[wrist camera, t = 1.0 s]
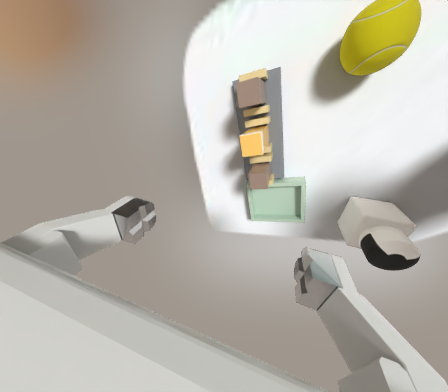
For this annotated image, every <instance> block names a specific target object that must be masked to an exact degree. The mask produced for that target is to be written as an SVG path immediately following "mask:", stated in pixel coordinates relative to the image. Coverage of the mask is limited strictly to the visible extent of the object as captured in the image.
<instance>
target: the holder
mask: <svg viewBox="0 0 448 392" xmlns="http://www.w3.org/2000/svg"><path fill="white" fill-rule="evenodd" d="M233 88H234V95H235V102H236V109H237V116H238V122H239V129H240V135H241V134H243V133H245V132H246V131H247V130H249V129H250V128H251V127H255V126H261V125H266V124H268V132H269V142H268V144H267V147H266V149H265V151H264V154H263V155H257V156H248V157H244V163H245V170H246V177H247V180H249V183H250V190H252V189H268V185H273V182H274V178H284V155H283V125H282V95H281V68H280V67H278V68H275V69H272V70H269V71H267V70H266V69H265V68H263V69H260V70H257V71H254V72H250V73H247V74H244V75H241V76H239V80H236V81H233Z"/></svg>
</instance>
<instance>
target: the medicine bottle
mask: <svg viewBox="0 0 448 392" xmlns="http://www.w3.org/2000/svg"><path fill="white" fill-rule="evenodd" d="M337 223H338V225H339V228H340V230H341V233H342V235H343V237H344V240H345V242H346V244H347V245H349V246H353V247H357V248H361V249H362V250H363V252H364V254H365V256H366V258H367V260H368V262H369V263H371V264H372V265H373V266H375V267H378V268H381V269H384V270H403V269H407V268H409V267H412V266H413V265H415V264H416V263H417V262H418V260H419V258H420V251H419V250H418V248H417V247H416V246H415V245H414V244H413V243H412V242H411V241H410V239H409V238H408V236H409V235H410V234H411V233H412V232H413V231H414V229H415V228H416V225H415V224H414V223H413V222H412V221H411V220H410V219H409V218H408V217H407V216H406V215H405V214H404V213H403V212H402V211H401V210H399V209H398V208H397V207H396V206H395V205H394V204H393V203H389V202H383V201H377V200H371V199H366V198H360V197H354V196H352V197H350V199H349V201H348V203H347V205H346V207H345V209H344V210H343V212H342V214H341V216H340V218H339V220H338V222H337Z"/></svg>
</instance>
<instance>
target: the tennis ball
mask: <svg viewBox="0 0 448 392" xmlns="http://www.w3.org/2000/svg"><path fill="white" fill-rule="evenodd" d="M420 20H421V6H420V3H419V1H418V0H376V1H375V2H373V3H371V4H370V5H369V6H367V7H366V8H365V9H364V10H363V11H362V12H360V13H359V14H358V15H357V16H356V18H355V19H354V20H353V21H352V22H351V23H350V25H349V26H348V28H347V30H346V32H345V34H344V37H343V40H342V43H341V47H340V61H341V64H342V67H343V68H344V70H345V71H346V72H347V73H349V74H351V75H359V76H361V75H368V74H372V73H375V72H377V71H379V70H381V69H383V68H385V67H387V66H388V65H390V64H391V63H393V62H394V61H395V60H397V59H398V58H399V57H400V56H401V55H402V54H403V53H404V52H405V51H406V50H407V48H408V47H409V46H410V44H411V43H412V41H413V39H414V37H415V35H416V33H417V31H418V28H419V25H420Z"/></svg>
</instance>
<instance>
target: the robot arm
mask: <svg viewBox="0 0 448 392" xmlns="http://www.w3.org/2000/svg"><path fill="white" fill-rule="evenodd" d="M153 210H154V204H153V203H151V202H149V201H145V200H142V199H139V198H135V197H132V196H126V197H124V198H122V199H120V200H119V201H117V202H115V203H114V204H112V205H110V206H108V207H107V208H105V209H103V210H96V211H92V212H87V213H83V214H78V215H74V216H70V217H65V218H61V219H57V220H52V221H48V222H44V223H40V224H38V225H36V226H34V227H32V228H30V229H28V230H26V231H24V232H22V233H20V234H18V235H16V236H14V237H12V238H9V239H8V240H6V241H4V242H1V243H0V392H329V391H327V390H325V389H323V388H320V387H318V386H316V385H314V384H312V383H309V382H307V381H305V380H303V379H300V378H298V377H296V376H294V375H292V374H290V373H287V372H285V371H283V370H281V369H279V368H276V367H274V366H272V365H270V364H267V363H265V362H263V361H261V360H259V359H256V358H254V357H252V356H250V355H248V354H245V353H243V352H241V351H239V350H237V349H234V348H232V347H230V346H228V345H225V344H223V343H221V342H219V341H217V340H215V339H212V338H210V337H208V336H206V335H203V334H201V333H199V332H197V331H195V330H193V329H190V328H188V327H186V326H184V325H181V324H179V323H177V322H175V321H173V320H170V319H168V318H166V317H164V316H162V315H159V314H157V313H155V312H152V311H151V310H148V309H146V308H144V307H142V306H139V305H137V304H135V303H133V302H131V301H128V300H126V299H124V298H122V297H120V296H117V295H115V294H113V293H111V292H108V291H106V290H104V289H102V288H100V287H98V286H95V285H93V284H91V283H88V282H86V281H84V280H82V279H80V278H78V277H76V276H75V275H76V274H77V273H78V272H79V271H81V270H82V267H83V266H82V265H81V263H80V261H79V260H81V259H83V258H85V257H87V256H90V255H92V254H94V253H96V252H98V251H100V250H102V249H104V248H107V247H109V246H111V245H113V244H115V243H118V242H120V241H121V240H124V241H127V242H130V243H133V244H136V243H137V242H138V241H139V240H140V239H141V238H142V237H143V236H144V232H146V231H149V230H150V229H151V228H152V227H153V226H154V224H155V222H156V215H155V213H154V212H153ZM301 254H302V257H301V258H298V259H297V261H296V264H295V268H294V279H295V280H296V282H297V285H296V287H295V295H296V303H299V304H301V305H304V306H307V307H309V308H312V309H314V310H317V313H318V315H319V316H320V318H321V320H322V322H323V323H324V325H325V327H326V329H327V330H328V332H329V334H330V336H331V337H332V339H333V341H334V343H335V344H336V346H337V348H338V350H339V352H340V353H341V355H342V357H343V359H344V360H345V362H346V364H347V366H348V367H349V369H350V371H351V373H349V374H347V375H345V376H343V377H341V378H340V379H339V380H338V385H339V389H340V392H448V386H447V384H446V382H445V380H444V379H443V378H442V377H441V376H440V375H439V374H438V373H437V372H436V371H435V370H434V369H433V368H432V367H431V366H430V365H429V364H428V363H427V362H426V361H425V360H424V359H423V357H421V355H420V354H419V353H418V352H417V351H416V350H415V349H414V348H413V347H412V346H411V345H410V344H409V343H408V342H407V341H406V340H405V339H404V338H403V337H402V336H401V335H400V334H399V333H398V332H397V330H396V329H395V328H394V327H393V326H392V325H391V324H390V323H389V322H388V321H387V320H386V319H385V318H384V317H383V316H382V315H381V314H380V313H379V312H378V311H377V310H376V309H375V308H374V307H373V306H372V305H371V304H370V303H369V301H368V300H367V299H366V298H365V297H364V296H363V295H360V294H358V292H357V290H356V287H355V285H354V282H353V280H352V277H351V275H350V273H349V270H348V268H347V265H346V263H345V261H344V259H343V258H342V257H339V256H336V255H332V254H327V253H324V252H321V251H317V250H314V249H310V248H307V247H305V248H304V249H303V250H302V252H301Z"/></svg>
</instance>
